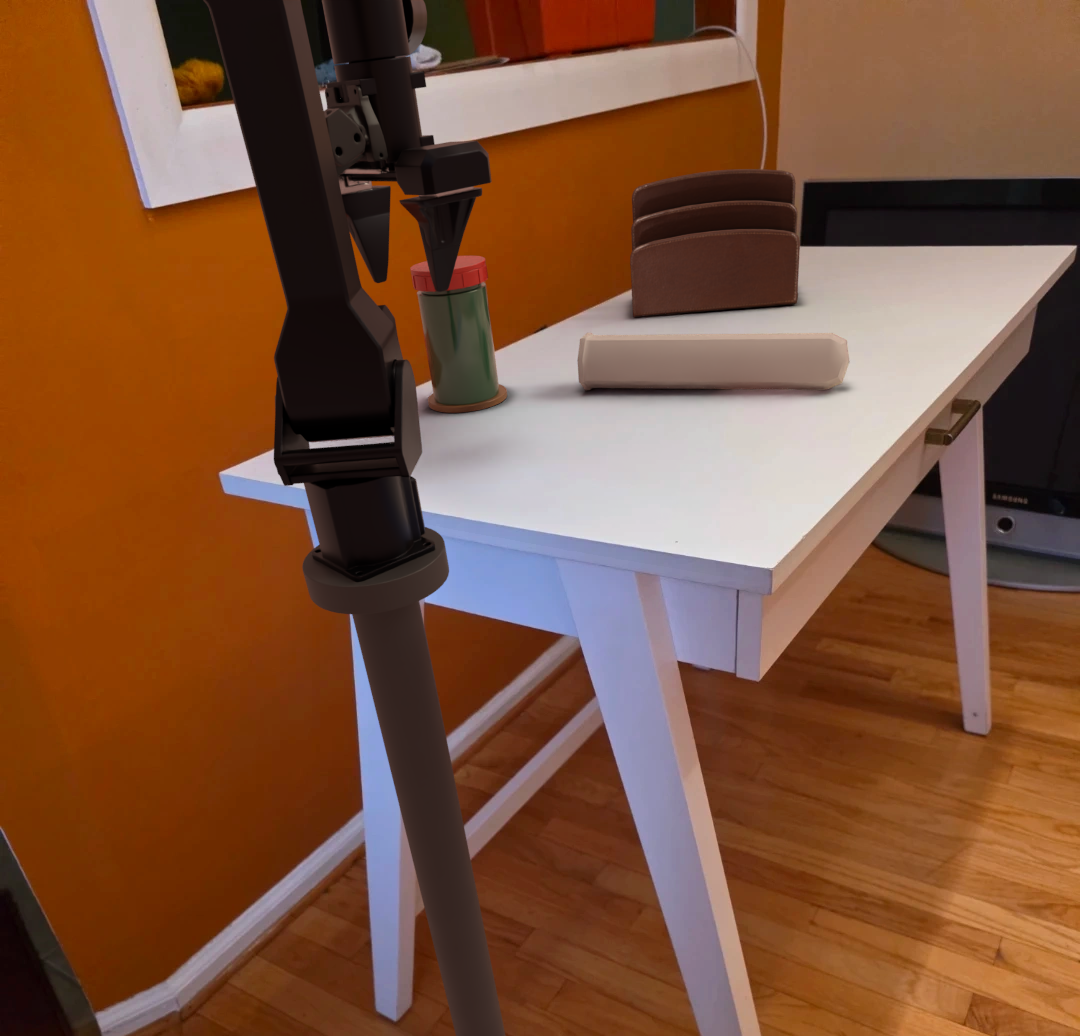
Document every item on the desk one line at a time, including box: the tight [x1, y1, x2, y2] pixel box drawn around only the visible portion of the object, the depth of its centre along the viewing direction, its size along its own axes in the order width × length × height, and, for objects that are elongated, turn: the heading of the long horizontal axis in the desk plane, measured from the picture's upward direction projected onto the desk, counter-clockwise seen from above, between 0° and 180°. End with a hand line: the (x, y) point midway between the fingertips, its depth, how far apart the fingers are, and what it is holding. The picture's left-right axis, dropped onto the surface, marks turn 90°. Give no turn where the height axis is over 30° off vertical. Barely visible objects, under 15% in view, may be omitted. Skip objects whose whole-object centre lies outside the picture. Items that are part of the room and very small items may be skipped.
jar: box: [416, 281, 499, 405], centre depth 92 cm, size 7×7×11 cm
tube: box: [577, 332, 851, 391], centre depth 89 cm, size 5×5×25 cm
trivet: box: [427, 384, 508, 414], centre depth 96 cm, size 8×8×1 cm
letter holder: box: [629, 168, 801, 318], centre depth 115 cm, size 10×20×14 cm, turn 82°
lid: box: [409, 255, 489, 292], centre depth 89 cm, size 7×7×2 cm
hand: (410, 286), depth 79 cm, fingers open, 9 cm apart
